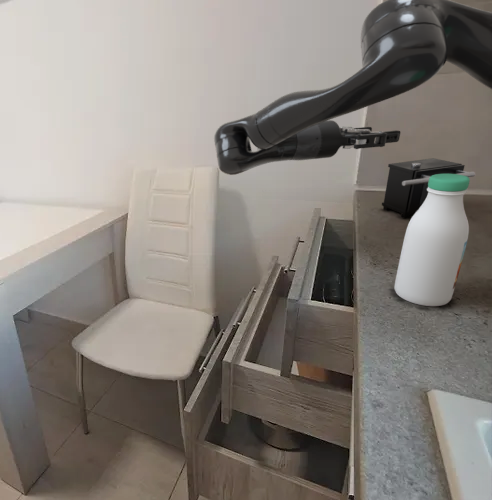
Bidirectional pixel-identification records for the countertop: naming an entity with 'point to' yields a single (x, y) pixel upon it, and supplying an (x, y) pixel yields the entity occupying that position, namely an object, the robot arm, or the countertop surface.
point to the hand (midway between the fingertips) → (383, 133)
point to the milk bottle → (434, 243)
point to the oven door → (421, 183)
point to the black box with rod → (404, 171)
